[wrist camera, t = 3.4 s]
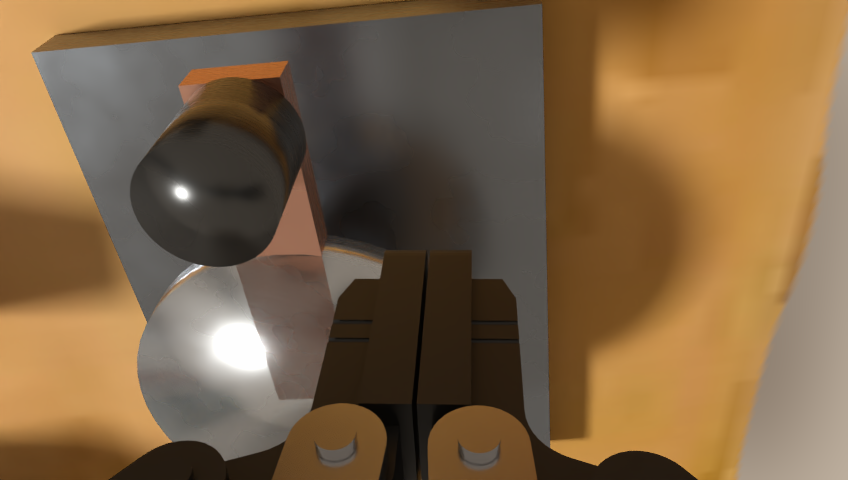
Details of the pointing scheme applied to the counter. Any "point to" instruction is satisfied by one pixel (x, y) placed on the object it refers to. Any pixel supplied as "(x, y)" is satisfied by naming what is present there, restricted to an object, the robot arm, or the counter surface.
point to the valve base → (349, 133)
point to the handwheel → (239, 263)
